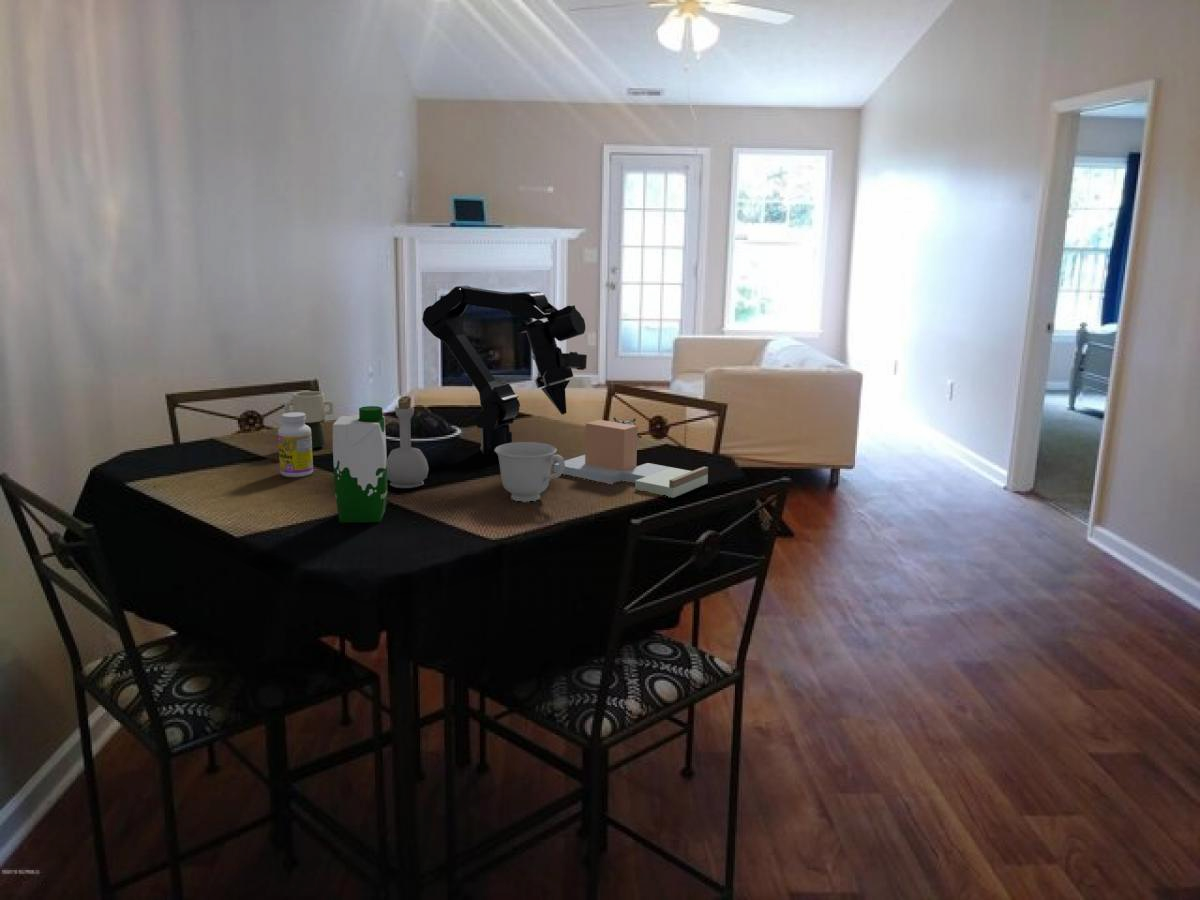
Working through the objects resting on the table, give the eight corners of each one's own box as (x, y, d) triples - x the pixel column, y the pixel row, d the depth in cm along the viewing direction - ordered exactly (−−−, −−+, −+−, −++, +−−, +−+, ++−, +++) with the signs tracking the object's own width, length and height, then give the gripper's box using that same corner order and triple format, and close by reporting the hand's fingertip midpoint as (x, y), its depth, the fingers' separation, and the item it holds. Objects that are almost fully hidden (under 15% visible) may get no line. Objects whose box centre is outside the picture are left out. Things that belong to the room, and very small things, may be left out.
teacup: (545, 513, 172) (545, 461, 170) (482, 500, 180) (481, 450, 178) (580, 498, 182) (581, 449, 180) (519, 486, 190) (519, 439, 188)
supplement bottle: (274, 473, 196) (270, 413, 193) (303, 468, 201) (299, 409, 198) (290, 479, 192) (287, 418, 189) (319, 474, 196) (316, 414, 193)
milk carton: (384, 524, 165) (380, 413, 160) (332, 524, 164) (326, 412, 159) (391, 509, 173) (387, 403, 168) (341, 509, 172) (336, 403, 168)
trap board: (553, 473, 201) (553, 457, 200) (591, 461, 212) (591, 446, 211) (673, 497, 184) (673, 480, 183) (707, 483, 195) (708, 467, 195)
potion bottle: (436, 480, 193) (434, 395, 189) (414, 491, 185) (411, 402, 181) (399, 476, 196) (396, 392, 192) (376, 487, 188) (372, 399, 184)
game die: (628, 464, 225) (651, 430, 225) (626, 460, 216) (650, 425, 217) (598, 444, 226) (621, 410, 227) (594, 439, 218) (619, 404, 218)
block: (585, 463, 201) (585, 423, 199) (598, 459, 205) (599, 419, 203) (623, 471, 196) (624, 429, 194) (636, 466, 200) (637, 425, 198)
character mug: (335, 443, 224) (333, 390, 221) (334, 450, 217) (331, 395, 214) (288, 445, 221) (285, 391, 218) (285, 452, 215) (282, 396, 212)
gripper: (584, 332, 200) (605, 402, 201) (572, 341, 218) (591, 405, 219) (535, 347, 198) (556, 417, 199) (526, 354, 217) (546, 418, 218)
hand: (564, 414), depth 209 cm, fingers closed
